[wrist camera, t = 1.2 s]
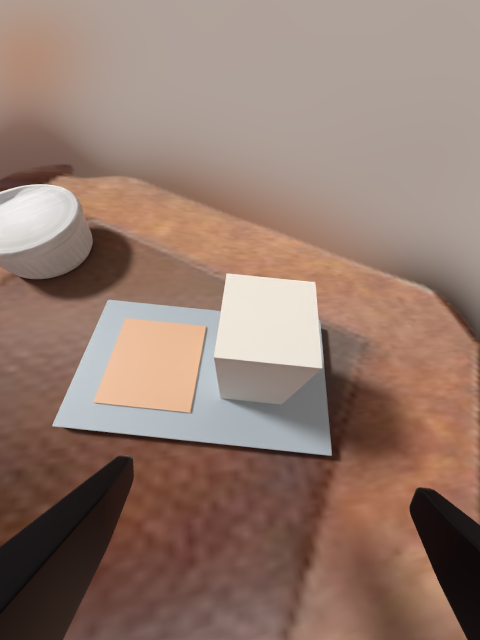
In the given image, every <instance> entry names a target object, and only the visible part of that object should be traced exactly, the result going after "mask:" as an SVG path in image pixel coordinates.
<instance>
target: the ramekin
mask: <svg viewBox="0 0 480 640" xmlns="http://www.w3.org/2000/svg"><path fill="white" fill-rule="evenodd" d="M92 243H93V240H92V234H91V231H90V229H89V227H88V224H87V222H86V219H85V217H84V215H83V209H82V206H81V204H80V202H79V201H78V199H77V198H76V196H75V195H74V194H73V193H72V192H70V191H69V190H67V189H65V188H62V187H59V186H54V185H44V184H38V185H27V186H21V187H16V188H12V189H9V190H6V191H3V192H0V266H1V267H2V268H4V269H6V270H7V271H9V272H11V273H13V274H15V275H17V276H20V277H23V278H29V279H47V278H53V277H57V276H60V275H63V274H65V273H68V272H70V271H71V270H73V269H75V268H76V267H78V266H79V265H80V264H81V263H82V262H83V261H84V260H85V259H86V258H87V256H88V255H89V253H90V250H91V247H92Z"/></svg>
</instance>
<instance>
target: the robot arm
mask: <svg viewBox="0 0 480 640" xmlns="http://www.w3.org/2000/svg"><path fill="white" fill-rule="evenodd" d="M133 478H134V470H133V458H132V457H131V456H125V455H119V456H117V457H116V458H115V459H113V460H112V461H111V462H109V463H108V464H107V465H106V466H104V467H103V468H102V469H100V470H99V471H98V472H96V473H95V474H94V475H93V476H91V477H90V478H89V479H87V480H86V481H85V482H83V483H82V484H81V485H80V486H78V487H77V488H76V489H74V490H73V491H72V492H71V493H69V494H68V495H67V496H65V497H64V498H63V499H61V500H60V501H59V502H58V503H56V504H55V505H54V506H52V507H51V508H50V509H49V510H47V511H46V512H45V513H43V514H42V515H41V516H39V517H38V518H37V519H36V520H34V521H33V522H32V523H30V524H29V525H28V526H26V527H25V528H24V529H23V530H21V531H20V532H19V533H17V534H16V535H15V536H14V537H12V538H11V539H10V540H8V541H7V542H6V543H4V544H3V545H2V546H1V547H0V640H63V638H64V636H65V634H66V632H67V630H68V628H69V626H70V624H71V622H72V620H73V618H74V616H75V614H76V611H77V609H78V607H79V605H80V603H81V601H82V599H83V597H84V595H85V593H86V591H87V589H88V587H89V585H90V583H91V580H92V578H93V576H94V574H95V572H96V570H97V568H98V566H99V564H100V562H101V560H102V558H103V556H104V553H105V551H106V549H107V547H108V545H109V542H110V540H111V537H112V535H113V532H114V530H115V527H116V525H117V522H118V519H119V517H120V514H121V512H122V509H123V506H124V504H125V501H126V499H127V496H128V493H129V491H130V488H131V486H132V483H133ZM410 514H411V517H412V519H413V522H414V524H415V526H416V529H417V531H418V534H419V536H420V538H421V541H422V543H423V546H424V548H425V550H426V553H427V555H428V558H429V560H430V562H431V565H432V567H433V570H434V572H435V574H436V576H437V579H438V581H439V583H440V585H441V587H442V589H443V592H444V594H445V596H446V598H447V600H448V602H449V604H450V606H451V608H452V610H453V612H454V614H455V616H456V618H457V620H458V622H459V624H460V626H461V628H462V630H463V632H464V634H465V636H466V638H467V640H480V525H479V524H478V523H476V522H475V521H474V520H473V519H471V518H470V517H469V516H467V515H466V514H465V513H463V512H462V511H461V510H460V509H458V508H457V507H456V506H454V505H453V504H452V503H450V502H449V501H448V500H447V499H445V498H444V497H443V496H441V495H440V494H439V493H437V492H436V491H435V490H433V489H430V488H421V487H420V488H417V489H416V491H415V494H414V496H413V499H412V501H411V504H410Z"/></svg>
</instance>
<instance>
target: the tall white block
mask: <svg viewBox="0 0 480 640" xmlns="http://www.w3.org/2000/svg"><path fill="white" fill-rule="evenodd" d="M214 362H215V368H216V374H217V380H218V386H219V392H220V398H223V399H232V400H242V401H251V402H261V403H271V404H280V405H282V404H283V403H284V402H285V401H286V400H287V399H288V398H289V397H291V396H292V395H293V394H294V393H295V392H296V391H297V390H299V389H300V388H301V387H302V386H303V385H304V384H305V383H306V382H308V381H309V380H310V379H311V378H312V377H313V376H314V375H315V374H317V373H318V372H319V371H320V370H321V369H322V359H321V347H320V335H319V322H318V310H317V298H316V286H315V282H307V281H297V280H287V279H276V278H266V277H256V276H246V275H236V274H227V276H226V282H225V288H224V295H223V301H222V308H221V314H220V321H219V327H218V333H217V340H216V346H215V353H214Z"/></svg>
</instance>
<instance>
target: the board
mask: <svg viewBox="0 0 480 640" xmlns="http://www.w3.org/2000/svg"><path fill="white" fill-rule="evenodd" d="M220 314H221V311H214V310H204V309H194V308H184V307H174V306H164V305H154V304H144V303H134V302H124V301H114V300H108V302H107V304H106V306H105V308H104V311H103V313H102V315H101V317H100V320H99V322H98V324H97V326H96V328H95V331H94V333H93V335H92V337H91V340H90V342H89V344H88V346H87V349H86V351H85V353H84V355H83V358H82V360H81V362H80V364H79V367H78V369H77V371H76V373H75V376H74V378H73V380H72V382H71V385H70V387H69V389H68V391H67V394H66V396H65V398H64V400H63V403H62V405H61V407H60V409H59V412H58V414H57V416H56V418H55V421H54V423H53V425H52V426H56V427H63V428H73V429H82V430H92V431H101V432H110V433H120V434H129V435H139V436H148V437H158V438H167V439H176V440H186V441H195V442H205V443H214V444H224V445H233V446H242V447H252V448H261V449H271V450H280V451H290V452H299V453H308V454H318V455H329V456H332V451H331V440H330V428H329V417H328V405H327V394H326V382H325V371H324V359H323V347H322V336H321V324H320V321H318V322H319V335H320V347H321V359H322V369H321V370H320V371H319V372H318V373H317V374H315V375H314V376H313V377H312V378H311V379H310V380H309V381H308V382H306V383H305V384H304V385H303V386H302V387H301V388H300V389H299V390H297V391H296V392H295V393H294V394H293V395H292V396H291V397H289V398H288V399H287V400H286V401H285V402H284V403H283V404H282V405H280V404H271V403H261V402H251V401H242V400H232V399H223V398H220V392H219V386H218V380H217V374H216V368H215V362H214V353H215V346H216V340H217V333H218V327H219V321H220Z"/></svg>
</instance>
